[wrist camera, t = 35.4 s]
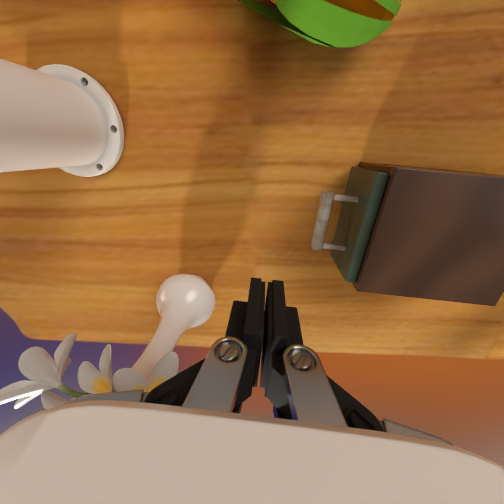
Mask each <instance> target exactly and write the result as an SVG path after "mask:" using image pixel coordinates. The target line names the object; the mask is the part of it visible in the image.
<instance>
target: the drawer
mask: <svg viewBox="0 0 504 504" xmlns="http://www.w3.org/2000/svg"><path fill="white" fill-rule="evenodd" d="M389 179H390V176H389V173H386V172H381V171H376V170H372V169H367V168H362V167H352V168H351V172H350V176H349V180H348V184H347V188H346V192H345V195H340V194H334V192H331V191H322V193H321V198H320V202H319V207H318V212H317V217H316V222H315V227H314V232H313V237H312V242H311V248H312V249H314V250H321V249H322V248H326V249H331V254H330V255H331V256H332V258H333V260H334V262H335V263H336V265H337V267H338V269H339V270H340V272H341V274H342V276H343V277H344V279H345V281H346V282H354V283H356V280H357V277H358V273H359V270H360V268H362V264H363V261H364V258H365V255H366V252H367V248H368V245H369V242H370V240H369V238H370V235H371V232H372V229H373V225H374V222H375V219H376V216H377V213H378V210H379V206H380V203H382V201H383V198H384V195H385V191H386V188H387V185H388V182H389ZM333 200H340V201H343V205H342V209H341V213H340V217H339V221H338V225H337V229H336V233H335V237H334V241H333V243H325V242H323V241H324V237H325V233H326V228H327V224H328V219H329V215H330V211H331V206H332V202H333Z"/></svg>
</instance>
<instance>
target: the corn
mask: <svg viewBox="0 0 504 504" xmlns="http://www.w3.org/2000/svg"><path fill="white" fill-rule="evenodd" d="M239 1H240V2H241V3H243V4H244V5H245V6H247V7H249V8H250V9H252V10H254V11H256V12H258V13H259V14H261V15H263V16H265V17H267V18H268V19H270V20H272V21H274V22H276V23H277V24H279V25H281V26H283V27H285V28H286V29H288V30H290V31H292V32H294V33H295V34H297V35H299V36H301V37H303V38H304V39H306V40H308V41H310V42H312V43H314V44H319V45H323V46H327V47H331V48H334V47H354V46H358V45H361V44H364V43H368V42H370V41H371V40H373V39H374V38H375V37H377V36H378V35H380V34H381V33H382V32H384V31H385V30H387V29H388V28H389V26H390V25H391V24H392V22H393V21H392V19H393V18H394V16H395V15H397V13H398V11H399V8H400V6H401V0H270V1H271V2H272V3H274V4H276V6H277V7H278V9H279V11H280V12H279V11H277V10H275V9H273V8H271V7H269V6H267V5H265V4H262V3H260V2H258V1H256V0H239Z"/></svg>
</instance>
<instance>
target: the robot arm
mask: <svg viewBox="0 0 504 504" xmlns="http://www.w3.org/2000/svg"><path fill="white" fill-rule="evenodd" d="M116 128H117V130H116ZM123 147H124V128H123V124H122V120H121V116H120V114H119V111H118V109H117V107H116V105H115V103H114V101H113V100H112V98H111V96H110V95H109V94H108V93H107V91H106V90H105V89H104V88H103V87H102V86H101V85H100V84H99V83H98V82H97V81H96V80H95V79H94V78H92V77H91V76H89V75H88V74H86V73H85V72H82V71H80V70H78V69H76V68H73V67H70V66H67V65H61V64H51V65H45V66H43V67H41V68H39V69H37V70H33V69H30V68H27V67H24V66H21V65H18V64H15V63H12V62H9V61H6V60H3V59H0V172H11V171H22V170H33V169H45V168H56V167H58V168H60V169H62V170H64V171H65V172H68V173H70V174H73V175H77V176H82V177H92V176H98V175H101V174H104V173H106V172H108V171H109V170H111V169H112V168H113V167H114V166H115V165H116V164H117V162H118V161H119V159H120V157H121V154H122V151H123ZM264 306H265V311H264ZM261 350H262V354H261ZM260 358H261V380H260V387H261V388H265V397H267V398H268V399H269V400H270V401H271V402H272V403H273V412H274V418H273V417H264V416H256V415H248V414H240V412H241V408H242V402H243V401H245V400H246V399H247V398H248V397H250V396H251V393H252V387H257V380H258V372H259V365H260ZM0 504H504V467H503V466H502V465H500V464H497V463H495V462H493V461H491V460H489V459H487V458H485V457H483V456H481V455H478V454H476V453H474V452H471V451H468V450H465V449H462V448H460V447H457V446H454V445H452V444H451V443H450V442H448V441H446V440H444V439H442V438H439V437H436V436H434V435H431V434H428V433H425V432H422V431H419V430H416V429H413V428H410V427H407V426H405V425H401V424H399V423H396V422H393V421H390V420H387V419H383V421H380V420H378V419H377V418H376V417H375V416H374V415H373V414H372V413H371V412H370V411H369V410H368V409H367V408H365V407H364V406H363V405H362V404H361V403H360V402H358V401H357V400H356V399H355V398H353V397H352V396H351V395H350V394H349V393H347V392H346V391H345V390H344V389H342V388H341V387H340V386H339V385H337V384H336V383H335V382H334V381H333V380H332V379H330V378H329V377H328V376H327V375H326V373H325V370H324V368H323V366H322V363H321V361H320V359H319V357H318V355H317V354H316V353H315V352H314V351H313V350H312V349H310V348H309V347H307V346H304V345H303V340H302V334H301V329H300V323H299V317H298V311H297V308H296V307H287V306H286V304H285V294H284V284H283V281H278V280H272V283H271V282H268V288H267V296H266V303H265V282H262V281H261V279H259V278H251V283H250V290H249V298H248V302H242V301H234V302H233V306H232V310H231V314H230V318H229V323H228V327H227V331H226V336H225V337H223V338H220V339H218V340H217V341H215V342H214V344H213V345H212V346H211V348H210V351H209V352H208V354H207V357H206V358H205V359H203V360H201V361H200V362H198V363H196V364H195V365H193V366H191V367H189V368H188V369H186V370H184V371H182V372H180V373H179V374H177V375H175V376H174V377H172V378H170V379H168V380H167V381H165V382H163V383H161V384H160V385H158V386H156V387H155V388H154V389H152V390H151V391H150V392H144V390H143V389H139V390H130V391H120V392H111V393H101V394H92V395H86V396H82V397H80V398H78V399H76V400H74V401H72V402H71V403H70V404H65V405H61V406H57V407H53V408H50V409H47V410H44V411H41V412H38V413H36V414H33V415H31V416H29V417H27V418H25V419H23V420H21V421H19V422H17V423H16V424H14V425H13V426H11V427H10V428H8V429H7V430H6V431H5V432H3V433H2V434H1V435H0Z"/></svg>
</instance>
